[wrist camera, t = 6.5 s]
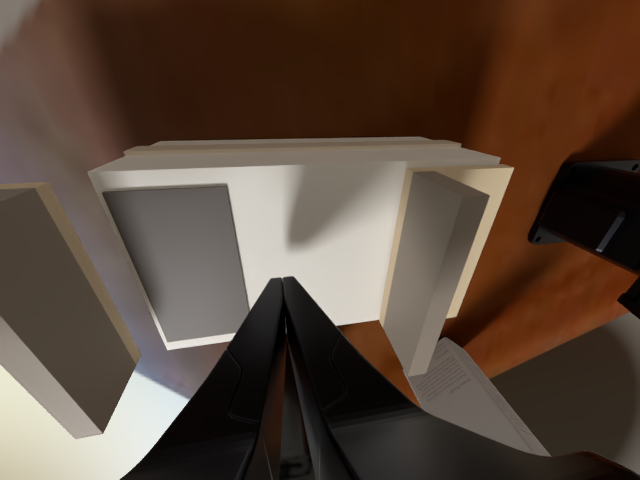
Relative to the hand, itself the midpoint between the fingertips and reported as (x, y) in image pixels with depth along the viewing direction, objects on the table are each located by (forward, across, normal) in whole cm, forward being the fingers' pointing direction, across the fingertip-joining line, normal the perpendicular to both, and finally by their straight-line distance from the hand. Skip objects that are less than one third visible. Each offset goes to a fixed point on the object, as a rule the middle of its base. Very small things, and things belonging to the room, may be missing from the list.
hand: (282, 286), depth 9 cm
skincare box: (+8, -15, +18) cm, 25 cm away
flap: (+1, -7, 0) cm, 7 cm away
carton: (+7, -2, 0) cm, 7 cm away
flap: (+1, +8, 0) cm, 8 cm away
